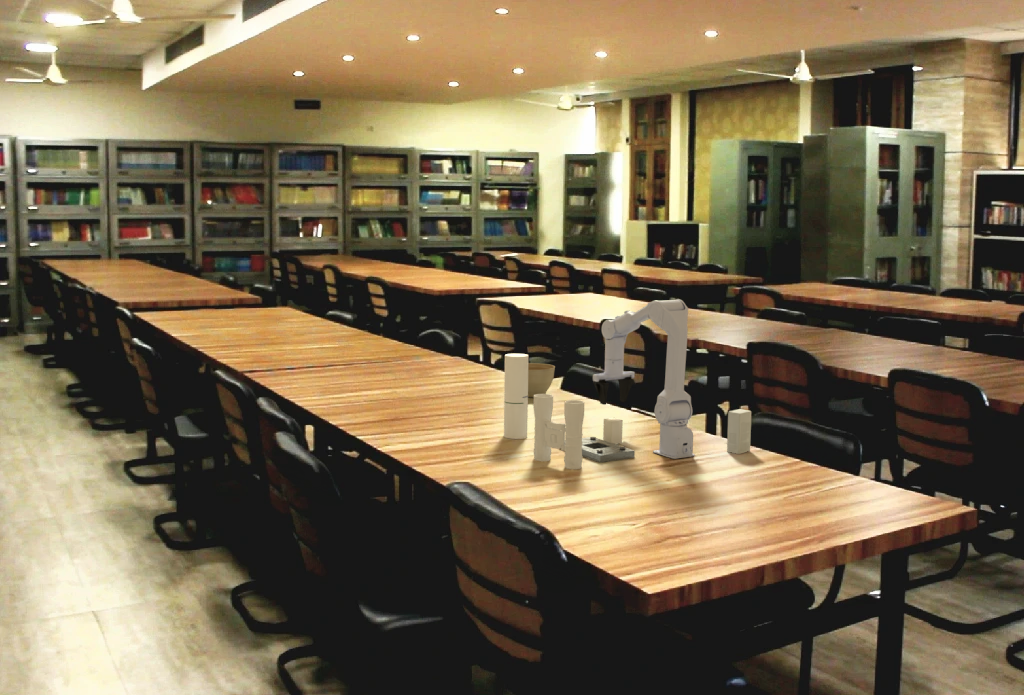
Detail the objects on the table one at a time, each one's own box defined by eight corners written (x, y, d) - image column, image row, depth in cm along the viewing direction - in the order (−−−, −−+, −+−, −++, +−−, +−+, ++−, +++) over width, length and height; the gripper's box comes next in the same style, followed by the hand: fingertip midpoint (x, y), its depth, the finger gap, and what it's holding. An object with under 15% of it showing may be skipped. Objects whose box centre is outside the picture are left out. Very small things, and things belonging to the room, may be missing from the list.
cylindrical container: (532, 436, 325) (533, 355, 321) (516, 440, 320) (517, 357, 316) (514, 432, 330) (516, 352, 326) (498, 436, 324) (499, 355, 321)
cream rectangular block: (621, 443, 317) (622, 420, 317) (611, 444, 315) (611, 421, 314) (613, 440, 321) (614, 417, 320) (603, 442, 319) (603, 419, 318)
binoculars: (528, 459, 297) (529, 395, 294) (542, 455, 300) (543, 393, 298) (573, 470, 284) (574, 404, 282) (587, 467, 288) (588, 402, 286)
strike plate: (634, 457, 300) (634, 448, 299) (600, 462, 294) (600, 453, 293) (592, 443, 317) (592, 434, 316) (559, 447, 310) (559, 439, 310)
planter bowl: (527, 389, 404) (527, 361, 403) (562, 394, 395) (563, 365, 393) (501, 395, 391) (502, 366, 390) (538, 401, 382) (538, 371, 380)
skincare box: (737, 448, 312) (739, 408, 311) (750, 451, 309) (752, 410, 308) (726, 451, 308) (727, 411, 306) (738, 454, 305) (740, 413, 303)
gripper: (625, 355, 332) (623, 398, 334) (587, 358, 324) (586, 402, 326) (639, 358, 326) (638, 402, 328) (601, 362, 318) (599, 406, 320)
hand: (613, 402), depth 327 cm, fingers open, 7 cm apart
